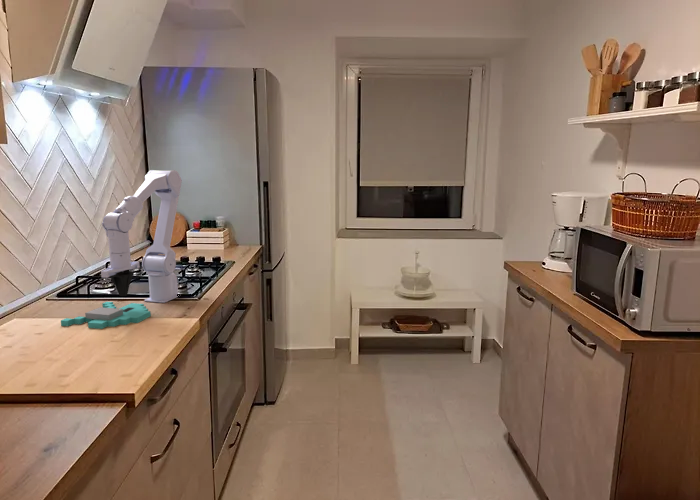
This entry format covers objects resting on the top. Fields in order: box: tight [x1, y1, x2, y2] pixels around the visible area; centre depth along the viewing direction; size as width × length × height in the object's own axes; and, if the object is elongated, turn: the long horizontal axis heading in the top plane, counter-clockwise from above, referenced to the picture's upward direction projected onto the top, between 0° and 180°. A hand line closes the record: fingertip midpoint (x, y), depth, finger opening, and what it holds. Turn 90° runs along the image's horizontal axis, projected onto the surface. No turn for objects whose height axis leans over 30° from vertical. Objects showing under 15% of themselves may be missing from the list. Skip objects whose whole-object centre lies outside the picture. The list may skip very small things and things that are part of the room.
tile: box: [84, 306, 123, 320], centre depth 148 cm, size 2×8×6 cm
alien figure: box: [60, 301, 152, 330], centre depth 152 cm, size 20×2×20 cm
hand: (123, 295), depth 154 cm, fingers closed
